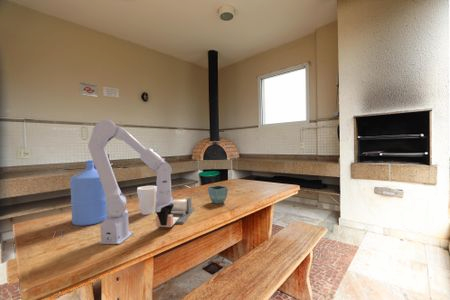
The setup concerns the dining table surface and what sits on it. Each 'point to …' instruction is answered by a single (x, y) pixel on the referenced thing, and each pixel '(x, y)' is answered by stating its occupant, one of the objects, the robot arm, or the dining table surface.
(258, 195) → the dining table surface
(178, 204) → the dispenser
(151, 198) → the foam cup
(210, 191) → the flower pot
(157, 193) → the robot arm
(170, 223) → the pink rectangular block
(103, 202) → the water jug
